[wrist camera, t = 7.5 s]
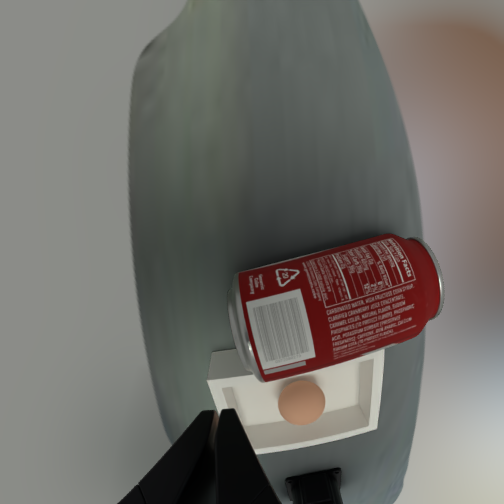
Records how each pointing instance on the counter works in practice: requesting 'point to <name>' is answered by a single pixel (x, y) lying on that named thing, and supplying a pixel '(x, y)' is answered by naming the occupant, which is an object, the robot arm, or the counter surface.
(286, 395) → the ball
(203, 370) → the counter surface
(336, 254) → the soda can
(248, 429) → the bin
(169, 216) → the counter surface
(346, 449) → the counter surface
